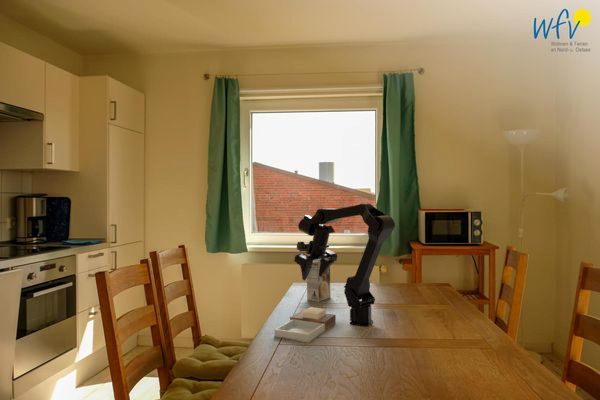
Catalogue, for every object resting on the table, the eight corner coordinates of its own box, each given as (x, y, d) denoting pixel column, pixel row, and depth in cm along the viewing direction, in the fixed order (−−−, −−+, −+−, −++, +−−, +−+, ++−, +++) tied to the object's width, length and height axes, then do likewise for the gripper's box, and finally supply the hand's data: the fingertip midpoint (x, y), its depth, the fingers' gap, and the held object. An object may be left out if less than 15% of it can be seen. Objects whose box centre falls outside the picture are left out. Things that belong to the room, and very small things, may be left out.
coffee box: (318, 295, 186) (318, 259, 186) (330, 297, 182) (330, 260, 182) (306, 300, 179) (306, 262, 179) (318, 302, 175) (318, 263, 175)
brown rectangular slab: (335, 323, 146) (335, 314, 146) (324, 331, 138) (324, 321, 138) (302, 318, 152) (302, 310, 152) (290, 325, 144) (290, 317, 144)
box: (324, 331, 138) (324, 323, 138) (308, 342, 127) (308, 334, 127) (292, 326, 143) (292, 319, 143) (274, 336, 133) (274, 329, 132)
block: (325, 314, 146) (325, 309, 146) (318, 319, 140) (318, 313, 140) (310, 312, 148) (310, 307, 148) (302, 317, 143) (302, 311, 143)
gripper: (321, 231, 171) (313, 266, 174) (288, 235, 157) (280, 273, 161) (341, 240, 163) (333, 277, 167) (309, 246, 150) (300, 285, 153)
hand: (312, 278), depth 162 cm, fingers open, 9 cm apart
